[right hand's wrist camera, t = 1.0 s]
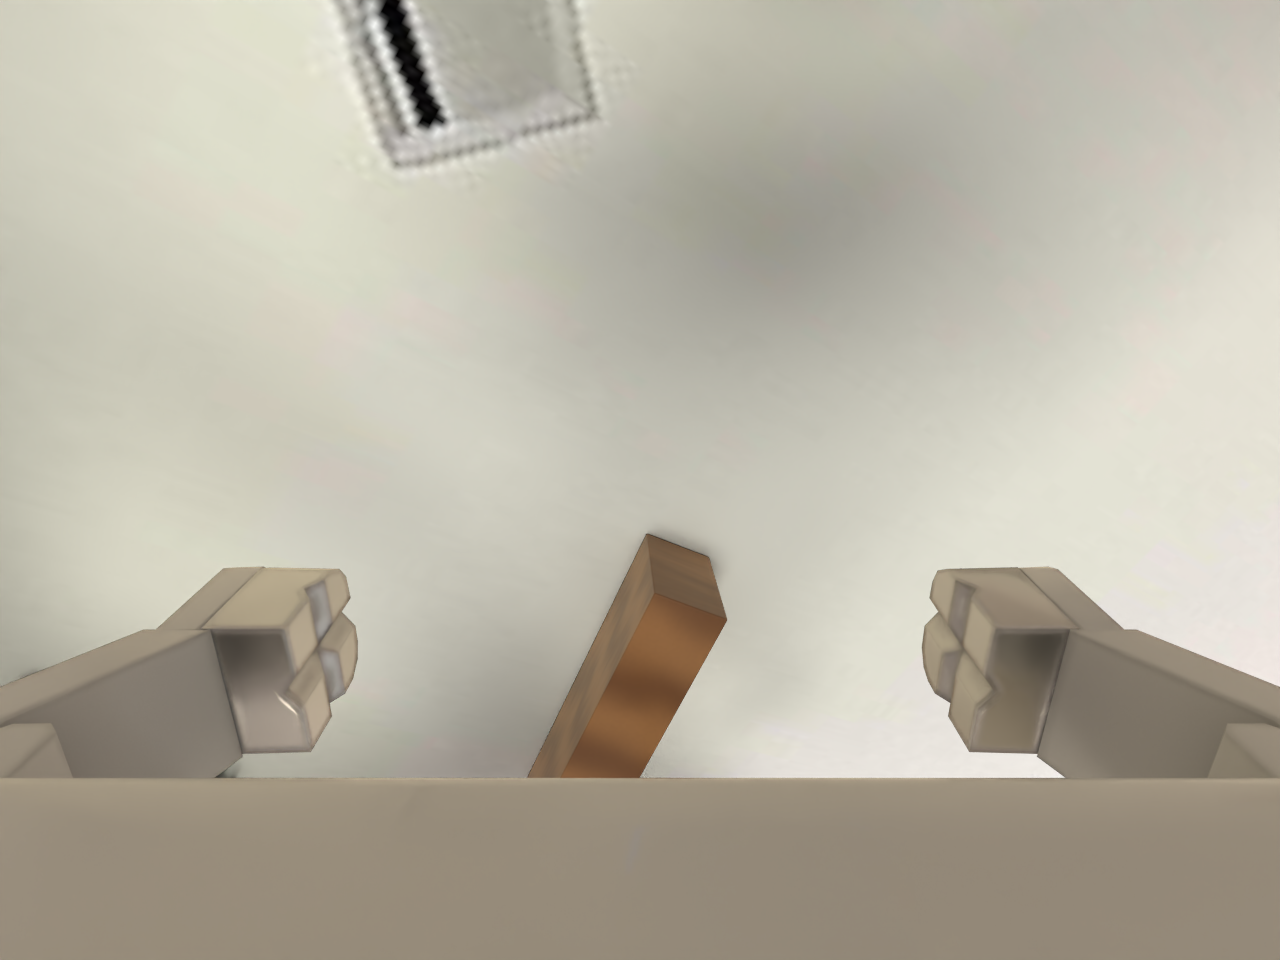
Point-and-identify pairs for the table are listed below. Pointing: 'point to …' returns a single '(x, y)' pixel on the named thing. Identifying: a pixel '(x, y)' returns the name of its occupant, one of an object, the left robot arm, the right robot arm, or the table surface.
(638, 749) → the bar
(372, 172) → the table surface
